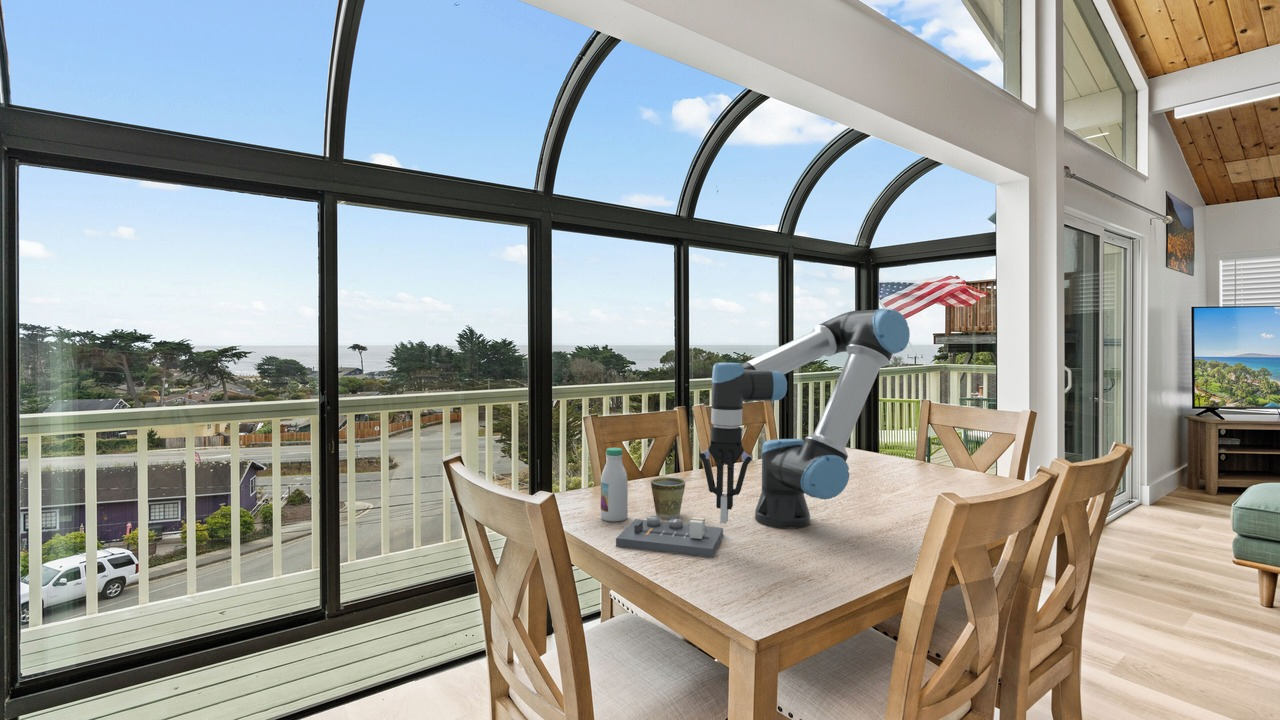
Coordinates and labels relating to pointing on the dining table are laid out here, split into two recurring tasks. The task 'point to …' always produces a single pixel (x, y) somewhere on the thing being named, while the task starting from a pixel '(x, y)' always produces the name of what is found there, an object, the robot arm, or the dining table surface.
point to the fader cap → (697, 527)
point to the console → (669, 537)
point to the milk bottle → (614, 487)
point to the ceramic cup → (667, 496)
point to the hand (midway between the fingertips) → (724, 521)
